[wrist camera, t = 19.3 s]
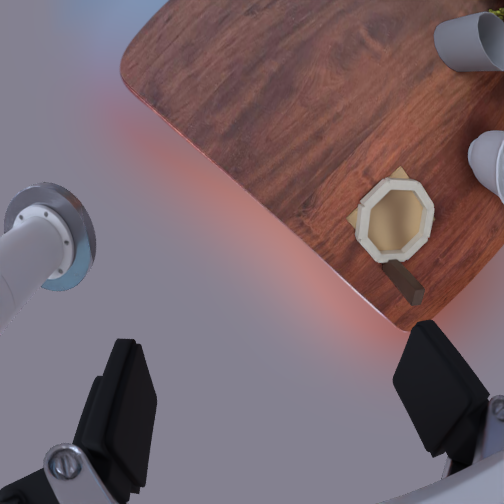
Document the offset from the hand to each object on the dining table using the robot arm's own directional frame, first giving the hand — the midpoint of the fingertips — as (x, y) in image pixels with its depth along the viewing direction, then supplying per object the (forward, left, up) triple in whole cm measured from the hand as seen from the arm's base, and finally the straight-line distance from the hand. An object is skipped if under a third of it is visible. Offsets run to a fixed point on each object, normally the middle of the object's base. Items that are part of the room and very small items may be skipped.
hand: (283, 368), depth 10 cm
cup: (+31, +22, -32) cm, 50 cm away
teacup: (+38, +4, -32) cm, 50 cm away
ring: (+21, -6, -31) cm, 38 cm away
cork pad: (+21, -6, -32) cm, 39 cm away
